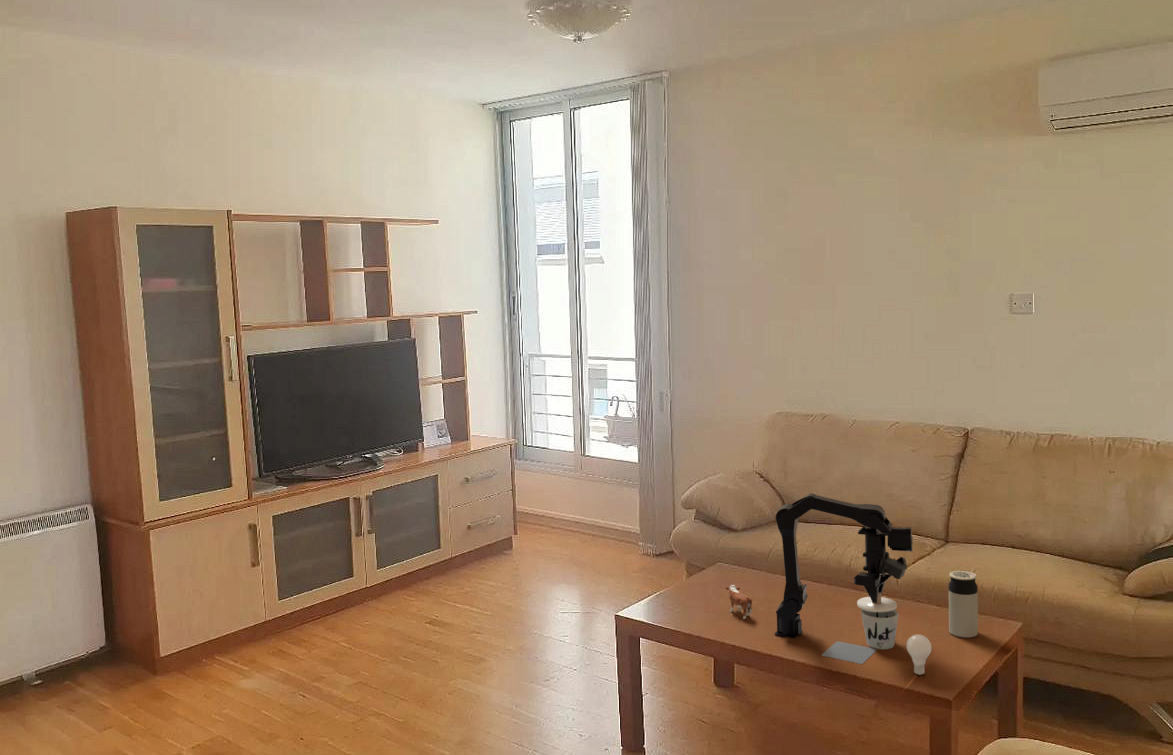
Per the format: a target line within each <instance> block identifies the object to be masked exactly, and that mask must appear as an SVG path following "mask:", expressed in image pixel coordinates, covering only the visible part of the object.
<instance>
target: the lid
mask: <svg viewBox="0 0 1173 755" xmlns="http://www.w3.org/2000/svg"><path fill="white" fill-rule="evenodd" d="M856 605H857V607H858V608H859V609H861V610H866V611H870V612H889V611H893V610H896V609H897V608H898V607H897V606H898V604H897V601H895V600H894V599H891V598H888V597H883V596H882V595H881V592H878V598H877V603H873V602H872V600H871V598H870V596H866V597H865V596H864V597H861V598H859V599H858V600H856Z"/></svg>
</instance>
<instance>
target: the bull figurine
mask: <svg viewBox="0 0 1173 755" xmlns="http://www.w3.org/2000/svg"><path fill="white" fill-rule="evenodd" d="M725 589H726V590H727V591H729V600H730V604H731V605H730V610H729V612H730V613H733V612H734V606H737V607H738V610H737V612H738V613H741V612H743V617H742V620H746V618H747V617H749V616H750V615H752V612H753V608H752V605H753V600H752V598H751V597H749V596H748V595H746V594H744V593H742V592H741V591H739V590H741V587H736V585H735V584H730V585H729V586H726V587H725Z"/></svg>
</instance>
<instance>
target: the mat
mask: <svg viewBox="0 0 1173 755" xmlns="http://www.w3.org/2000/svg"><path fill="white" fill-rule="evenodd" d="M877 651H878V649H876V648H872V647H870V646H864V645H860V644H859V645H858V644H854V643H853V644H852V643H848V642H844V641H838V640H836V642H834V643H833V644H832V645H831V646H830V647H829V648H827V650H825V651H824V652H823V653H822V654H821V655H820V656H821V657H825V658H826V657H827V658H830V659H832V658H833V659H836V660H840V661H844V662H850V663H855V664H859V665H863V664H864V663H865V662H867V660H868V659H870V657H871V656H873V655H874V654H875V652H877Z"/></svg>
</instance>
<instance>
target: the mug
mask: <svg viewBox="0 0 1173 755" xmlns="http://www.w3.org/2000/svg"><path fill="white" fill-rule="evenodd" d="M860 615H861V619H862V626H863V630H864V635H865V641H866V645H867V647H869V648H874V649H877V650H889V649H893V647H895V642H896V637H897V636H896V635H897V628H898V622H899V615H900V614H899V612H898V611H897V610H896V609H895V610H893V611H889V612H870V611H866V610H863V609H861V611H860Z"/></svg>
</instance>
